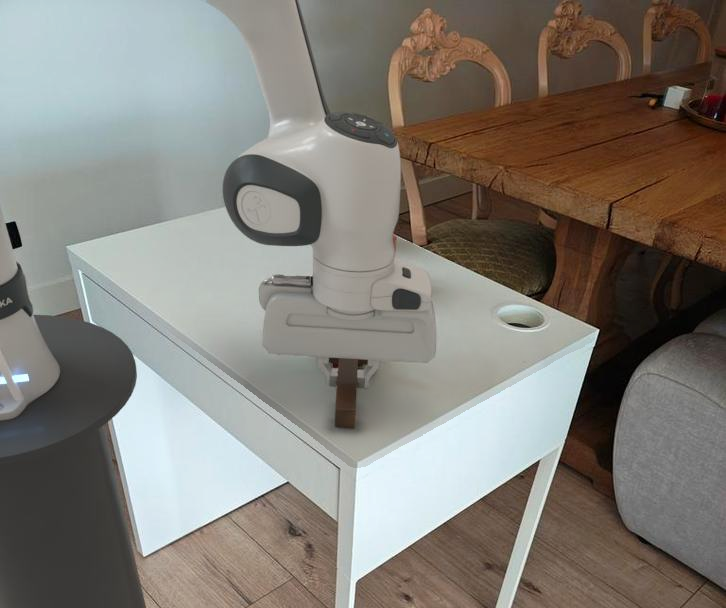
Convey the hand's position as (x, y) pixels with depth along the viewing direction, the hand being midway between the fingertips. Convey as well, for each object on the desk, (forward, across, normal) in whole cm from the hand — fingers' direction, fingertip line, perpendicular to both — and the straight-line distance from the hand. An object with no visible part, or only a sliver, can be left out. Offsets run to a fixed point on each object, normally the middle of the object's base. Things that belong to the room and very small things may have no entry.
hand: (347, 385), depth 87 cm
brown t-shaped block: (+1, 0, +1) cm, 2 cm away
